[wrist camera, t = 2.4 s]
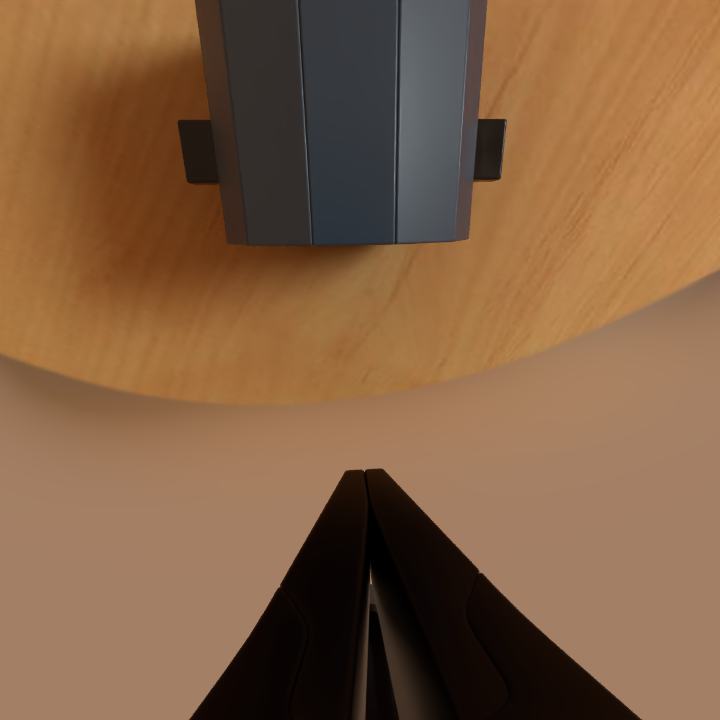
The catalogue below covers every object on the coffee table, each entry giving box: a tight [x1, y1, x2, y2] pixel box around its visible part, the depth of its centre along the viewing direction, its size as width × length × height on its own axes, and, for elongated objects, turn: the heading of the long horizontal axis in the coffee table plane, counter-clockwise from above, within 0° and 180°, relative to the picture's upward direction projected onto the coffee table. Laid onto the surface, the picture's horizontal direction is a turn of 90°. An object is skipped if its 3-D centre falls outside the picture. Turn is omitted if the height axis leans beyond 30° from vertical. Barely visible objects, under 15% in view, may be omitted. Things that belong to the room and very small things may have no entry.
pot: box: [178, 0, 507, 246], centre depth 11 cm, size 7×9×7 cm
